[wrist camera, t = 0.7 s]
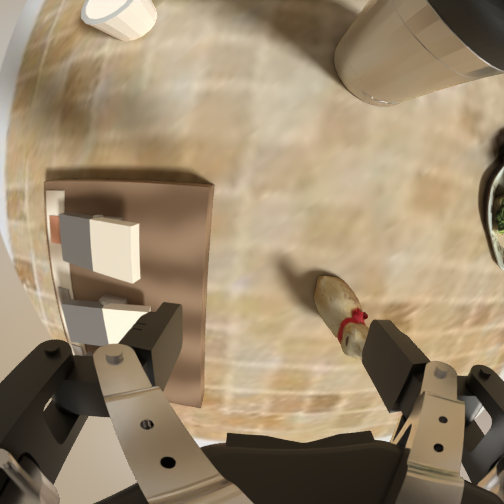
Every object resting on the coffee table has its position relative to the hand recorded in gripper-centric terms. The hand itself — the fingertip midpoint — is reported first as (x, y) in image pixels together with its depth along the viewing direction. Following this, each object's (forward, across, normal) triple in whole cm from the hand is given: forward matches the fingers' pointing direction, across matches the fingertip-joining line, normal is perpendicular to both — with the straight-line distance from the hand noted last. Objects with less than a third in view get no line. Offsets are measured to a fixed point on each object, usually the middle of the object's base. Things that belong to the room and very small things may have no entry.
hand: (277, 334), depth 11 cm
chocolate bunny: (+19, -9, +6) cm, 22 cm away
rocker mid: (+14, +16, +9) cm, 23 cm away
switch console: (+19, +16, +9) cm, 26 cm away
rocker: (+13, +16, 0) cm, 20 cm away
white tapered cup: (+16, +17, -25) cm, 35 cm away
